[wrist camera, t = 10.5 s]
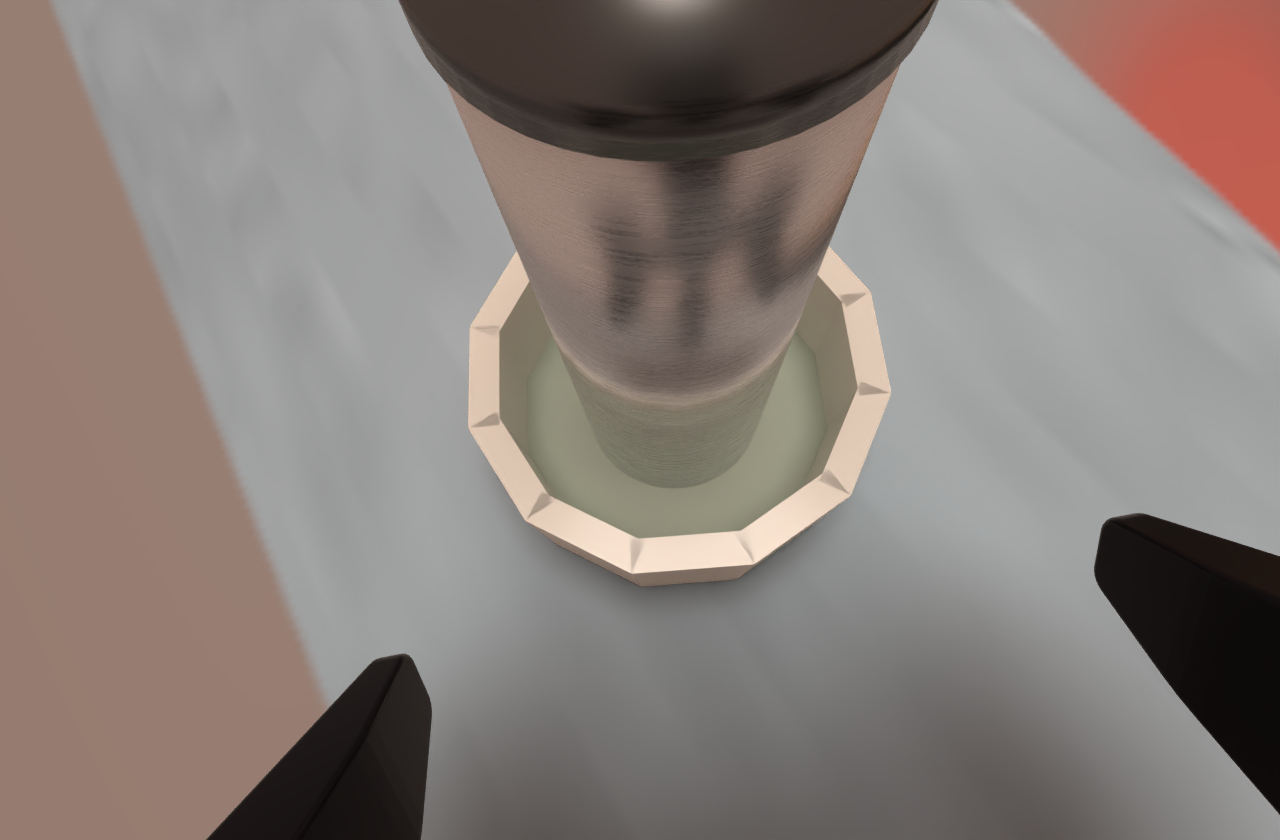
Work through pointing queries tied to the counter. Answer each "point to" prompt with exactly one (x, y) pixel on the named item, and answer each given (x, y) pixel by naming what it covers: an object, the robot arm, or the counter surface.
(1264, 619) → the robot arm
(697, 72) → the canister
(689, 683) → the counter surface
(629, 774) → the counter surface
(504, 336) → the bowl
